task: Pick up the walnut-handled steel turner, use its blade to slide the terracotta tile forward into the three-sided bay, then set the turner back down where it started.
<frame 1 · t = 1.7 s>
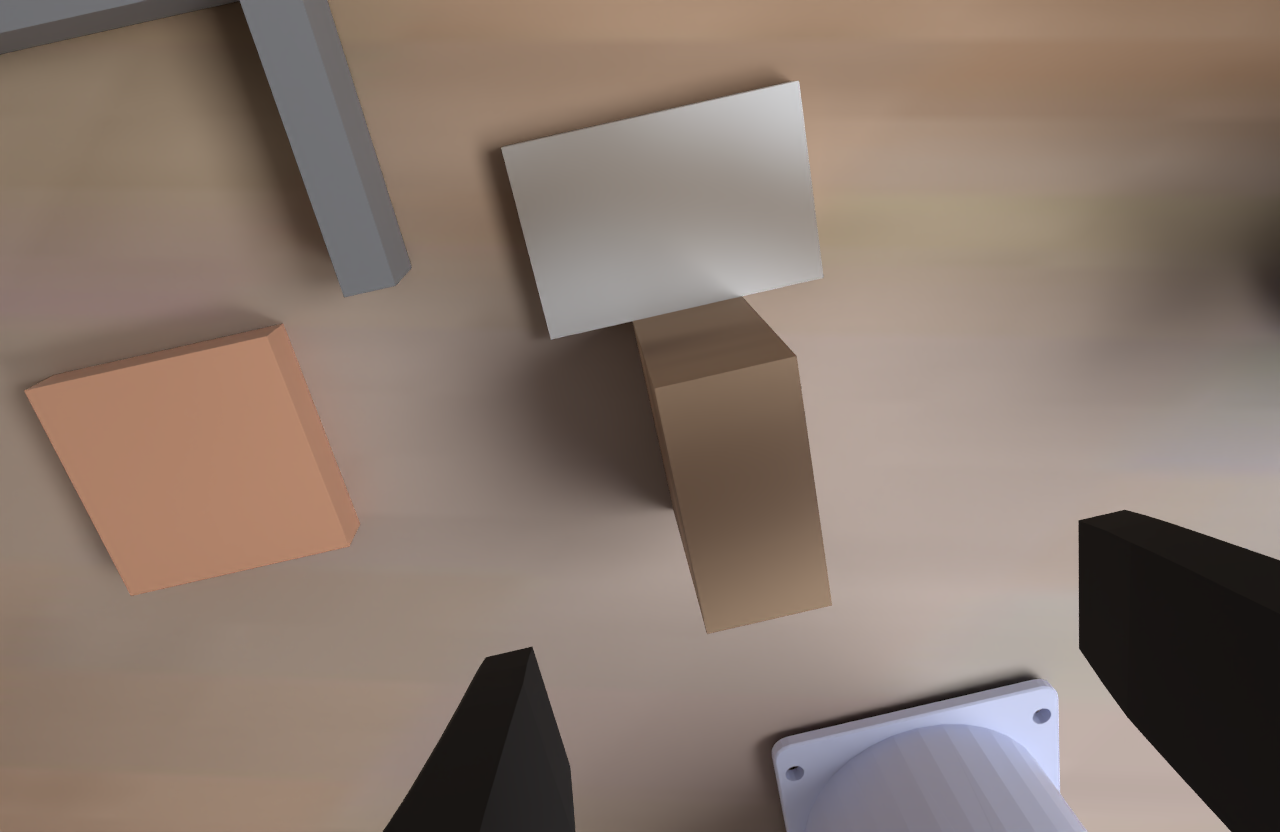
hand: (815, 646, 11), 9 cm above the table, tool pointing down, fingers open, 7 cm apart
bay: (98, 196, 16), on the table
turner: (703, 405, 19), on the table
tile: (222, 445, 19), on the table
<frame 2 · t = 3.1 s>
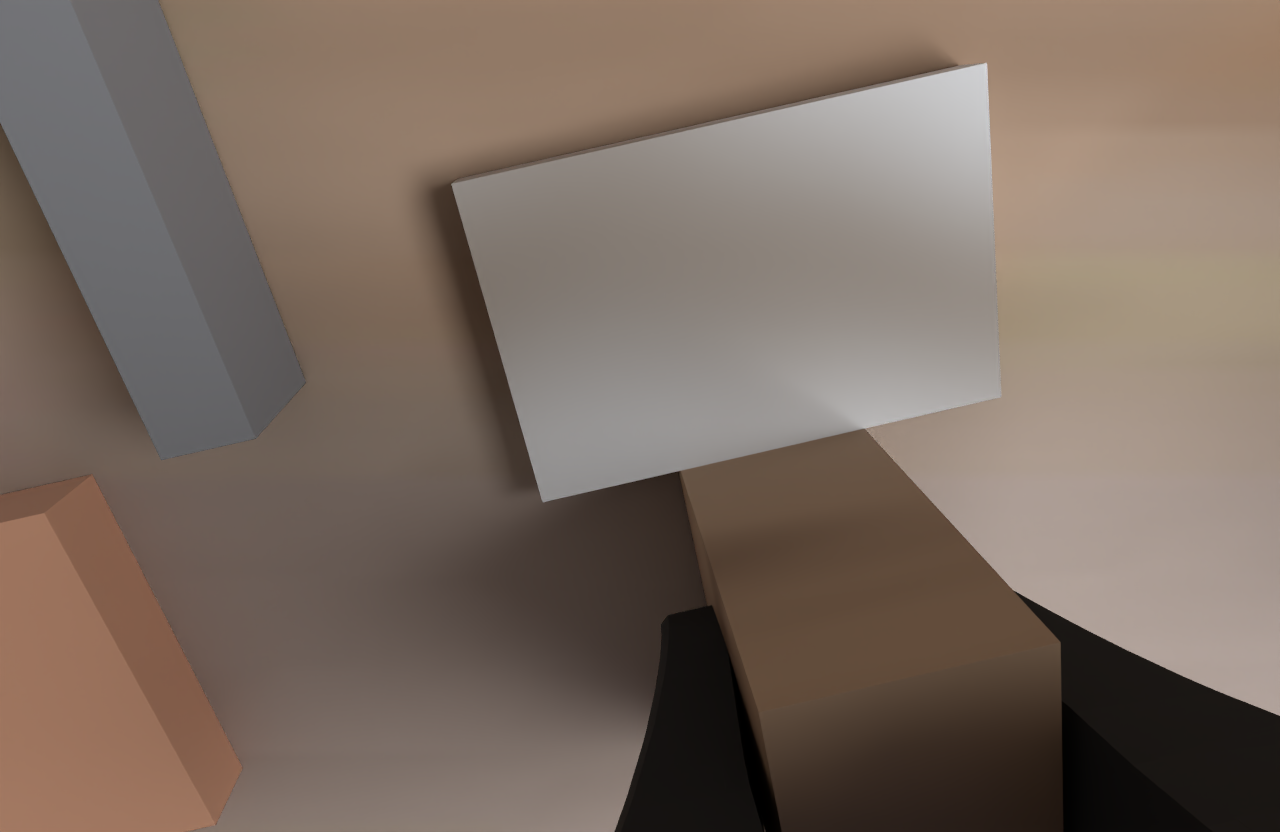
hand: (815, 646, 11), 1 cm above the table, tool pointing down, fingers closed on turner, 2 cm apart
turner: (787, 586, 12), on the table, touching gripper
tile: (16, 652, 12), on the table
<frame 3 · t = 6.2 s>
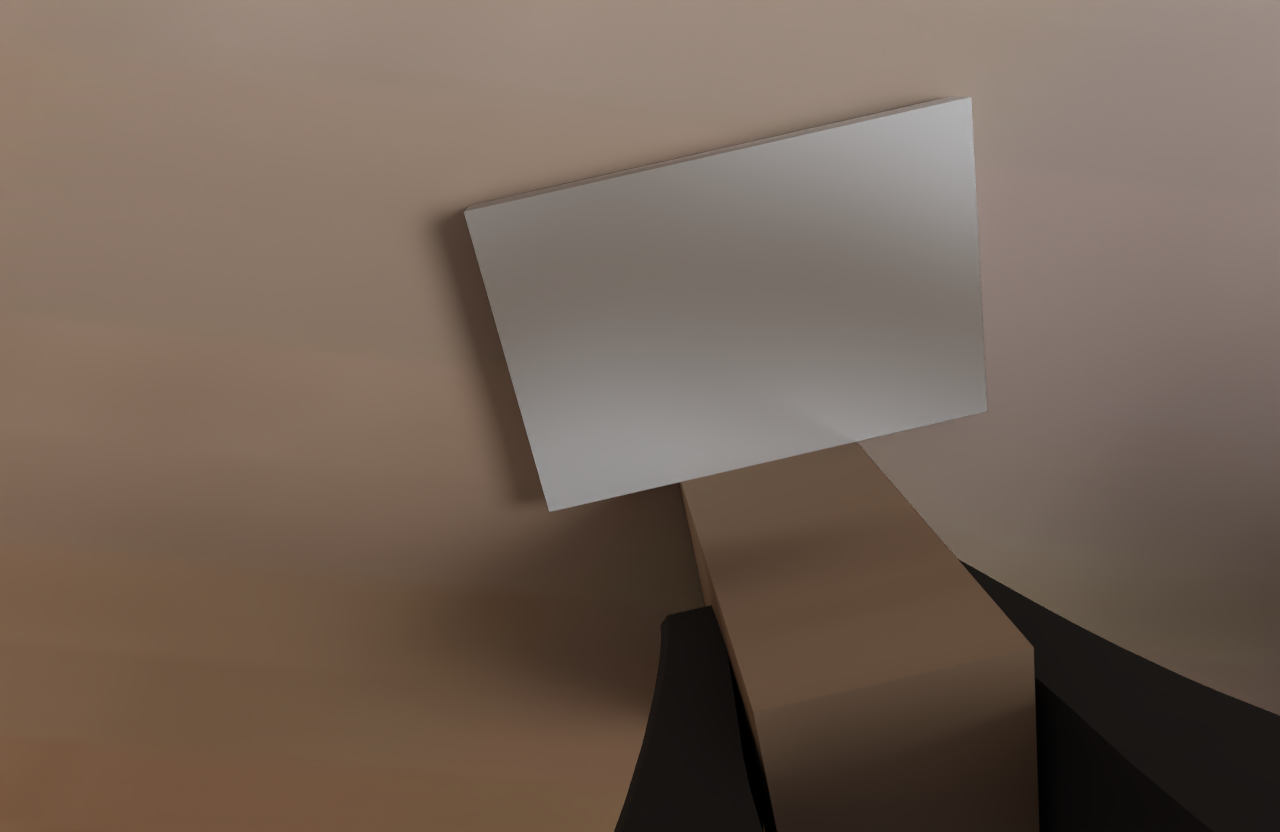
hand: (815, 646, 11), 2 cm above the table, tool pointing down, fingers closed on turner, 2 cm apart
turner: (783, 591, 12), on the table, touching gripper
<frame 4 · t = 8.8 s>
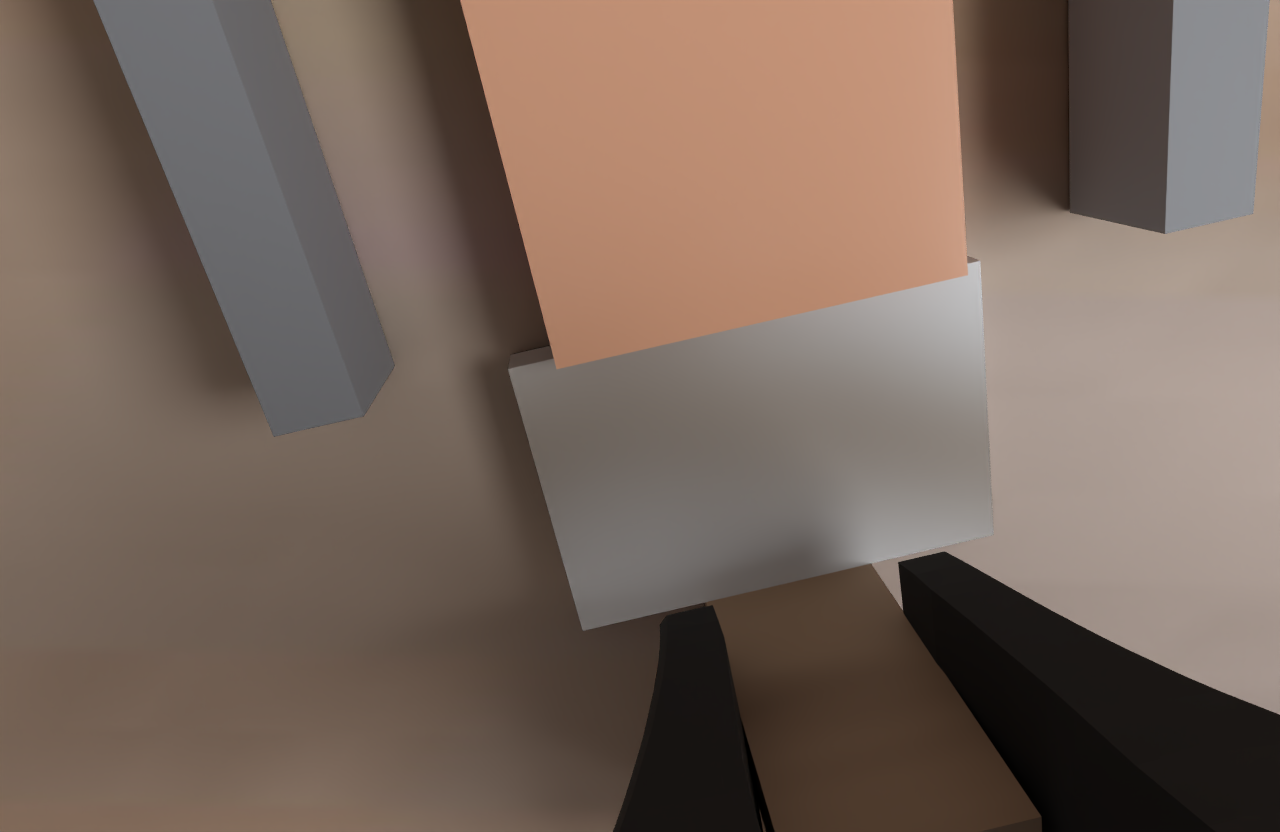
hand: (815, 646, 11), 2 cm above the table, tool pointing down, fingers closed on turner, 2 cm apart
bay: (696, 67, 10), on the table
turner: (800, 691, 13), on the table, touching gripper
tile: (704, 99, 10), on the table
when the fingers open (2 cm above the table, at t = 13.0 s): turner stays where it is, on the table.
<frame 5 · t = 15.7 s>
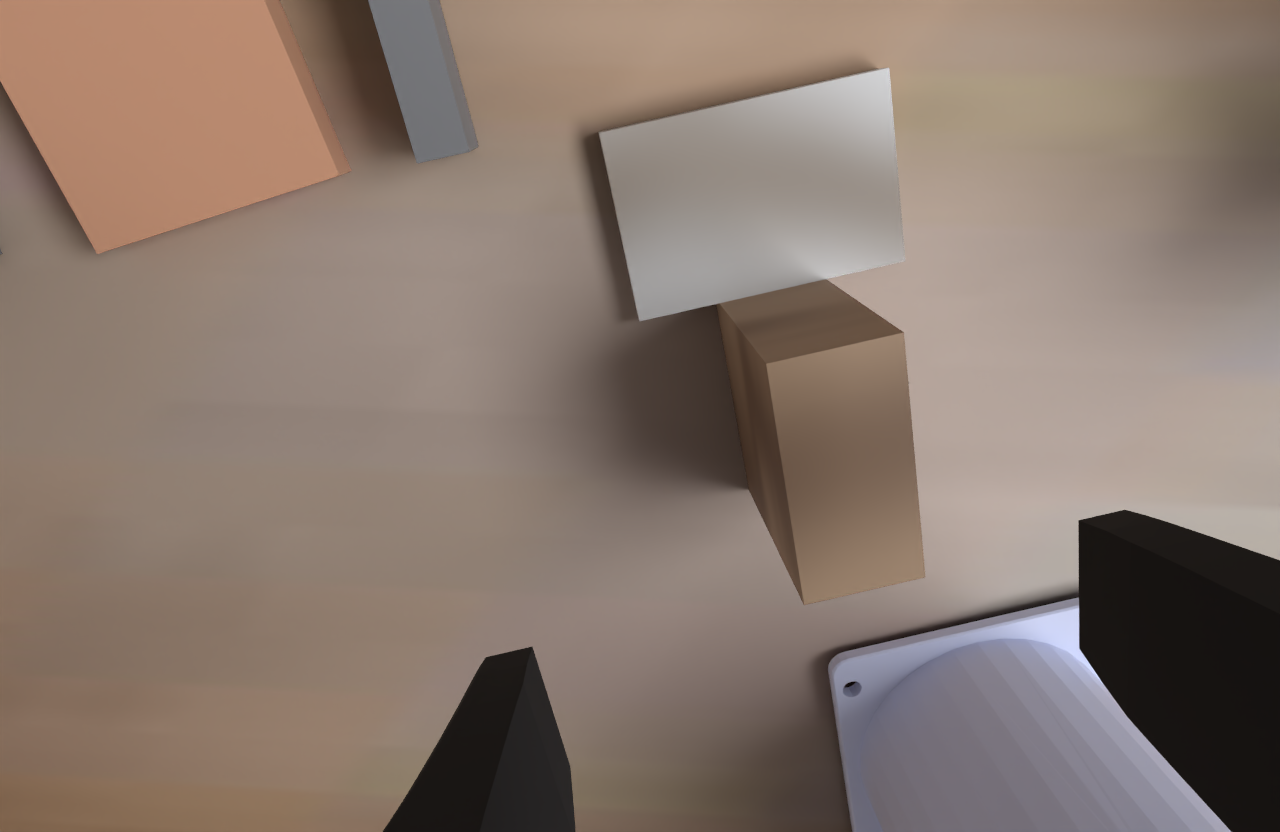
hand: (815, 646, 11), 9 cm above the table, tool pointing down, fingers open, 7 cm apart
bay: (161, 65, 16), on the table
turner: (781, 386, 19), on the table
tile: (186, 83, 16), on the table
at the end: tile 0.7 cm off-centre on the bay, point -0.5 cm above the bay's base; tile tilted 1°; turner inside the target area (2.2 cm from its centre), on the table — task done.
